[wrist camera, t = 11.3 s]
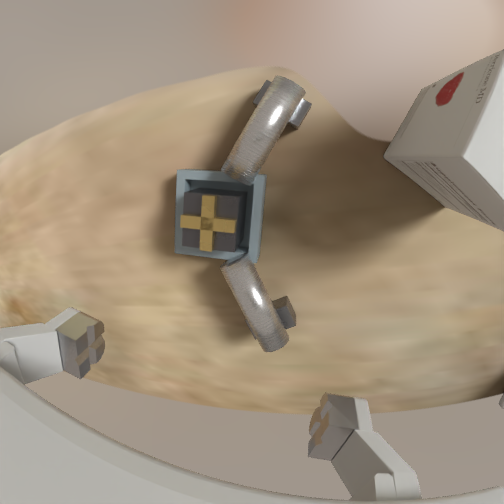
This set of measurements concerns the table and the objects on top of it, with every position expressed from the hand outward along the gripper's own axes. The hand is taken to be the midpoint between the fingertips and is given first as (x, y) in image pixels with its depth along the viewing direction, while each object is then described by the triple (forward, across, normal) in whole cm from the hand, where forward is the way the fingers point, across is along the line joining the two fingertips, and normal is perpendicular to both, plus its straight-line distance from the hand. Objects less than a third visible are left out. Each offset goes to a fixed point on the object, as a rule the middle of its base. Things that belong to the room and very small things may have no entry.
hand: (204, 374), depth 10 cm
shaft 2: (+21, 0, +6) cm, 21 cm away
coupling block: (+20, +5, -1) cm, 21 cm away
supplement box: (+21, -14, -13) cm, 29 cm away
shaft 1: (+20, +2, -9) cm, 23 cm away
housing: (+20, +5, -1) cm, 21 cm away
